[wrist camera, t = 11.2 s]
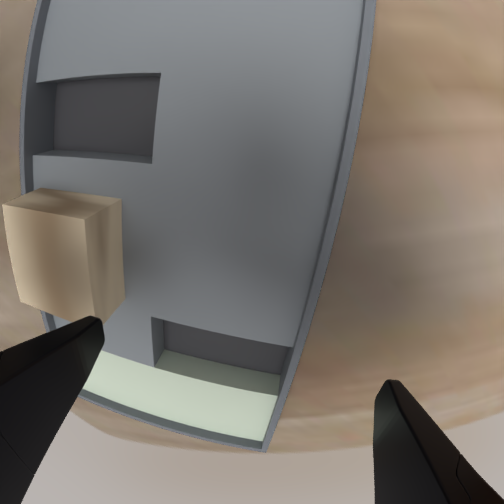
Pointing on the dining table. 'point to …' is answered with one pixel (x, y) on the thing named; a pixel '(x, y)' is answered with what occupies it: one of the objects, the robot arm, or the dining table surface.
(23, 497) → the robot arm
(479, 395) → the dining table surface
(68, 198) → the beech block
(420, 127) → the dining table surface
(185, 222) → the box
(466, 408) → the dining table surface
